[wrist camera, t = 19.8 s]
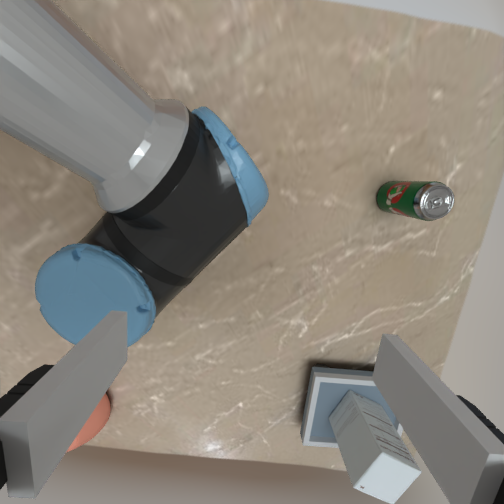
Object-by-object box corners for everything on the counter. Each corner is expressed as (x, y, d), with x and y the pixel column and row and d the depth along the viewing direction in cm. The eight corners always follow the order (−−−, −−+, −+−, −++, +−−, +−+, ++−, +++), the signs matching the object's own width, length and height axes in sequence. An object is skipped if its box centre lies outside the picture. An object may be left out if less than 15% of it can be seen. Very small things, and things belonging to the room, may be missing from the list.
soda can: (408, 205, 48) (461, 212, 36) (380, 216, 48) (422, 228, 36) (401, 176, 46) (452, 175, 35) (371, 188, 47) (413, 191, 35)
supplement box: (359, 432, 54) (392, 507, 41) (327, 417, 53) (351, 489, 40) (382, 404, 52) (424, 473, 40) (349, 387, 51) (382, 453, 39)
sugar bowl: (53, 419, 57) (12, 469, 47) (52, 359, 54) (8, 400, 44) (115, 426, 58) (87, 477, 48) (117, 367, 54) (88, 409, 44)
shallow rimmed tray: (297, 420, 58) (302, 445, 53) (308, 356, 54) (315, 376, 49) (382, 426, 59) (396, 451, 53) (399, 363, 55) (416, 384, 50)
